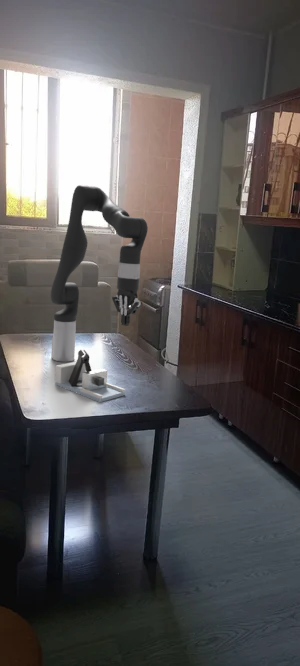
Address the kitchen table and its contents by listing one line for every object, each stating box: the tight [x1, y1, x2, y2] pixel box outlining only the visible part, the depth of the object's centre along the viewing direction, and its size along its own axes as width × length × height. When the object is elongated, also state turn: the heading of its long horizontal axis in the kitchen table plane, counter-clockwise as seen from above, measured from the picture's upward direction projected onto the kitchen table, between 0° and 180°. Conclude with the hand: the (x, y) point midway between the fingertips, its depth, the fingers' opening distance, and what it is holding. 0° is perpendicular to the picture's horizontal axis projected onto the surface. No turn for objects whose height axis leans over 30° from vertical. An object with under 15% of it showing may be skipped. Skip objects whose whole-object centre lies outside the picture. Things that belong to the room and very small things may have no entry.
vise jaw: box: [82, 368, 108, 391], centre depth 179 cm, size 5×9×6 cm, turn 139°
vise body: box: [54, 361, 126, 403], centre depth 181 cm, size 24×12×7 cm, turn 49°
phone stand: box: [69, 349, 93, 387], centre depth 183 cm, size 9×6×12 cm, turn 107°
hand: (125, 325), depth 179 cm, fingers closed
